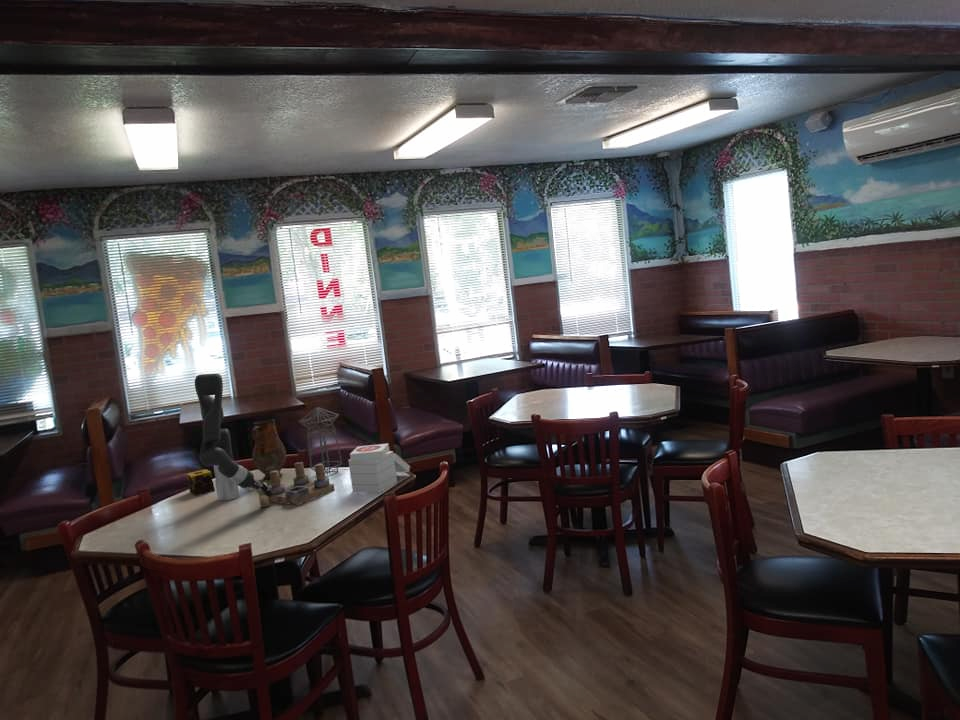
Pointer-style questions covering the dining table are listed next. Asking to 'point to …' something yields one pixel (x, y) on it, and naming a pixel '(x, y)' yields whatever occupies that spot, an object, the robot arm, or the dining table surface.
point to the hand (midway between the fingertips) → (267, 494)
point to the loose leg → (263, 499)
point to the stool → (299, 486)
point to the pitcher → (267, 448)
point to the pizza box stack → (374, 468)
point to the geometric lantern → (322, 436)
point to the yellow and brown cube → (200, 482)
